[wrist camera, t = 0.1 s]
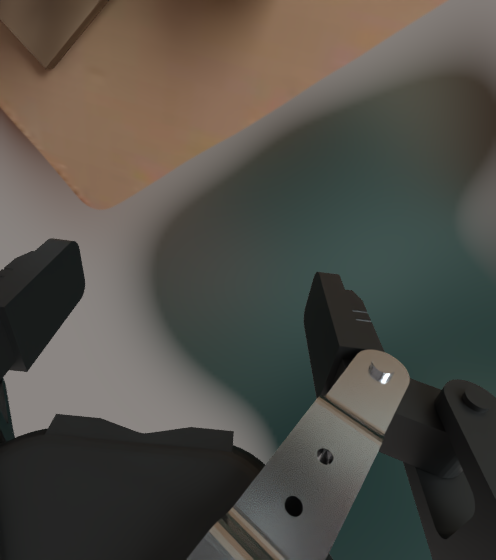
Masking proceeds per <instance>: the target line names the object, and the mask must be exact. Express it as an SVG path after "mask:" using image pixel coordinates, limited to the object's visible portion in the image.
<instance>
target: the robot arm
mask: <svg viewBox="0 0 496 560" xmlns="http://www.w3.org/2000/svg"><path fill="white" fill-rule="evenodd" d="M84 289H85V279H84V273H83V267H82V261H81V256H80V249H79V246H78V244H77V243H76V242H75V241H67V240H60V239H48V240H47V241H46V242H45V243H44V244H42V245H41V246H40V247H39V248H38V249H37V250H35V251H31V252H29V253H27V254H24V255H22V256H20V257H17V258H16V259H14V260H13V261H12V262H11V263H10V264H8V265H7V266H6V267H5V268H4V270H3V269H2V270H1V271H0V560H333V559H332V557H331V556H330V554H329V552H330V549H331V547H332V545H333V543H334V541H335V539H336V537H337V535H338V533H339V531H340V529H341V527H342V525H343V523H344V521H345V519H346V517H347V514H348V512H349V510H350V508H351V506H352V504H353V501H354V500H355V498H356V496H357V494H358V491H359V490H360V488H361V486H362V483H363V481H364V480H365V477H366V475H367V473H368V471H369V469H370V467H371V465H372V463H373V461H374V459H375V457H376V455H377V453H378V451H379V452H381V453H384V454H386V455H388V456H391V457H393V458H396V459H398V460H401V461H403V463H404V466H405V470H406V473H407V476H408V480H409V483H410V486H411V490H412V493H413V496H414V499H415V503H416V506H417V509H418V512H419V516H420V519H421V523H422V526H423V529H424V532H425V536H426V539H427V542H428V546H429V549H430V552H431V556H432V559H433V560H496V398H495V397H494V396H493V395H492V394H490V393H489V392H488V391H486V390H485V389H483V388H482V387H480V386H478V385H476V384H473V383H471V382H468V381H465V380H451V381H449V382H447V383H446V384H445V386H444V387H443V389H442V390H440V389H437V388H435V387H432V386H429V385H427V384H424V383H421V382H418V381H416V380H413V379H411V378H409V374H408V372H407V370H406V368H405V367H404V366H403V365H402V364H401V363H400V362H399V361H398V360H397V359H396V358H394V357H393V356H391V355H389V354H387V353H385V352H384V350H383V348H382V345H381V343H380V341H379V338H378V336H377V334H376V331H375V329H374V327H373V324H372V322H370V321H371V320H370V317H369V315H368V314H367V310H366V308H365V306H364V303H363V301H362V300H361V299H360V298H359V297H358V296H357V295H356V294H355V293H354V292H353V291H352V290H345V289H344V286H343V283H342V281H341V278H340V276H339V275H338V274H330V273H322V272H316V274H315V276H314V279H313V282H312V286H311V289H310V293H309V296H308V300H307V303H306V307H305V312H304V328H305V333H306V339H307V345H308V351H309V356H310V363H311V368H312V374H313V380H314V386H315V391H316V397H317V400H316V401H315V402H314V403H313V405H312V406H311V407H310V409H309V410H308V411H307V412H306V414H305V415H304V416H303V417H302V419H301V420H300V421H299V423H298V424H297V425H296V427H295V428H294V429H293V430H292V432H291V433H290V434H289V435H288V437H287V438H286V439H285V441H284V442H283V443H282V444H281V446H280V447H279V448H278V450H277V451H276V452H275V453H274V455H273V456H272V457H271V459H270V460H269V461H268V462H267V464H266V465H265V464H263V462H261V461H260V460H259V459H258V458H256V457H255V456H254V455H252V454H251V453H249V452H247V451H245V450H243V449H241V448H239V447H236V446H234V445H233V433H234V432H233V431H224V430H214V429H203V428H193V427H189V428H182V429H175V430H169V431H161V432H154V433H145V434H144V433H139V432H136V431H133V430H130V429H128V428H125V427H122V426H120V425H117V424H114V423H112V422H109V421H106V420H104V419H101V418H91V417H82V416H72V415H62V414H61V415H60V414H56V415H55V417H54V419H53V421H52V423H51V424H50V426H49V428H48V429H42V430H38V431H34V432H30V433H27V434H24V435H21V436H18V437H16V438H15V436H14V431H13V425H12V419H11V414H10V407H9V401H8V395H7V389H6V384H5V381H4V379H3V377H4V375H5V374H6V373H7V371H8V370H14V371H24V372H27V371H28V370H29V369H30V367H31V366H32V364H33V363H34V362H35V360H36V359H37V358H38V356H39V355H40V354H41V352H42V351H43V349H44V348H45V347H46V345H47V344H48V343H49V341H50V340H51V339H52V337H53V336H54V335H55V333H56V332H57V330H58V329H59V328H60V326H61V325H62V324H63V322H64V321H65V320H66V318H67V317H68V316H69V314H70V313H71V312H72V310H73V309H74V307H75V306H76V305H77V303H78V302H79V301H80V299H81V298H82V296H83V293H84Z"/></svg>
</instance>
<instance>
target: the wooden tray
mask: <svg viewBox="0 0 496 560" xmlns="http://www.w3.org/2000/svg"><path fill="white" fill-rule="evenodd" d="M108 1H109V0H0V20H1V21H2V22H3V23H4V24H5V25H6V26H7V28H8V29H9V30H10V31H11V32H12V33H13V34H14V35H15V36H16V37H17V38H18V39H19V41H20V42H21V43H22V44H23V45H24V46H25V47H26V48H27V49H28V50H29V51H30V53H31V54H32V55H33V56H34V57H35V58H36V59H37V60H38V61H39V62H40V63H41V65H42V66H43V67H44V68H45V69H46V68H54V67H55V65H56V64H57V63H58V62H59V61H60V59H61V58H62V57H63V56H64V54H65V53H66V52H67V51H68V50H69V48H70V47H71V46H72V45H73V43H74V42H75V41H76V40H77V39H78V37H79V36H80V35H81V34H82V32H83V31H84V30H85V29H86V28H87V26H88V25H89V24H90V23H91V21H92V20H93V19H94V18H95V17H96V15H97V14H98V13H99V12H100V10H101V9H102V8H103V7H104V6H105V4H106V3H107V2H108Z"/></svg>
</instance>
